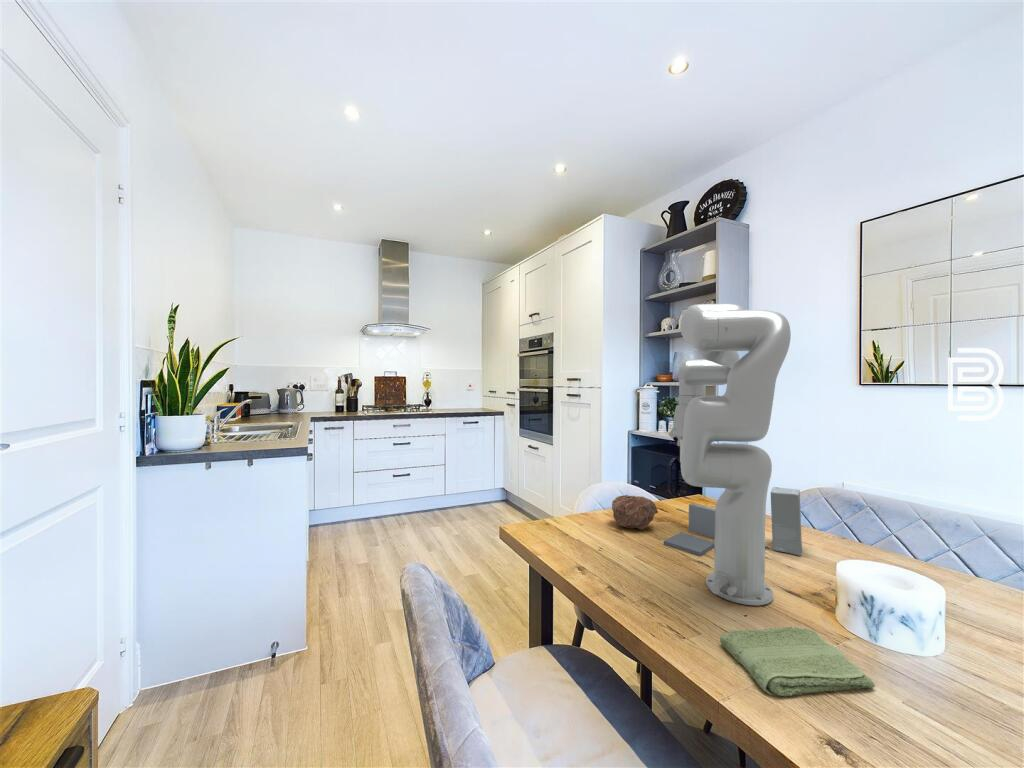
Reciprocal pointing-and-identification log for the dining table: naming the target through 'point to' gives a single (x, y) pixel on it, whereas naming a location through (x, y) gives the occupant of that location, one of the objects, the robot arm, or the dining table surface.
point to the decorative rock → (633, 511)
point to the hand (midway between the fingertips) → (691, 459)
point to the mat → (689, 543)
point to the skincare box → (786, 520)
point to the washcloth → (793, 661)
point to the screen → (702, 520)
